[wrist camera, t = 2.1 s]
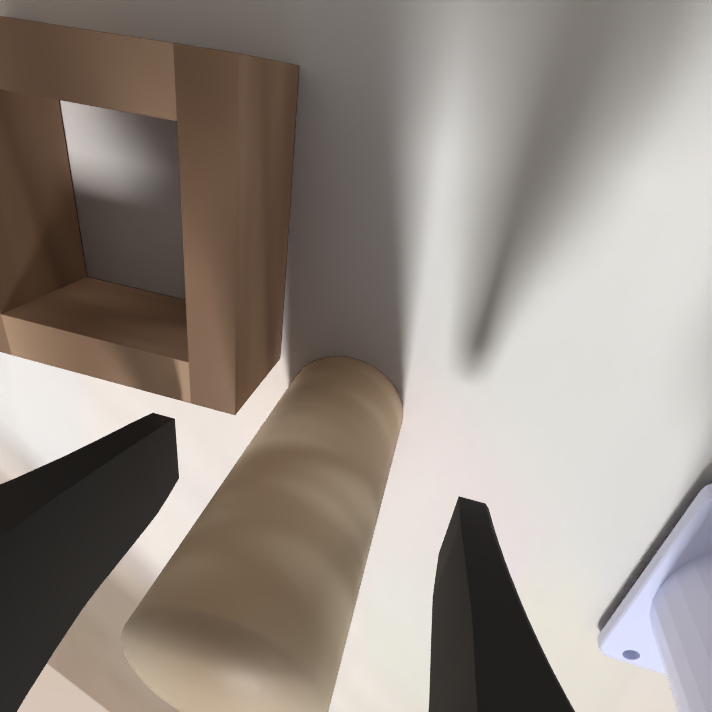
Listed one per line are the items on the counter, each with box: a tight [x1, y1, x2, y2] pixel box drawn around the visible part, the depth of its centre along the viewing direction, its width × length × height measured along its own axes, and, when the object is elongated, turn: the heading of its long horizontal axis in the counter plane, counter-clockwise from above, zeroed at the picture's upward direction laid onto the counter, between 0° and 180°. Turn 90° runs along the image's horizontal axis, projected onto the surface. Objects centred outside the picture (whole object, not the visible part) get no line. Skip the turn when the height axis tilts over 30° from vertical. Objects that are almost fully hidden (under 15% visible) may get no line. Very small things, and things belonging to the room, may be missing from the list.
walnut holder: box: [0, 16, 299, 415], centre depth 11 cm, size 8×8×3 cm
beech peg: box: [121, 356, 403, 712], centre depth 11 cm, size 4×4×8 cm
